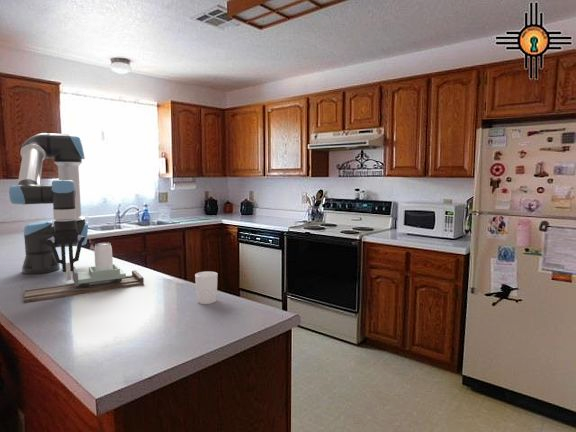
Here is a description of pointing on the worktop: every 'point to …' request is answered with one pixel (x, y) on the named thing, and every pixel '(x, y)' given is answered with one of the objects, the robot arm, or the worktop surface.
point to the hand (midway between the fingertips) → (68, 279)
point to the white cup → (206, 287)
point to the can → (103, 257)
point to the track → (81, 288)
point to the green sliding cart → (97, 275)
